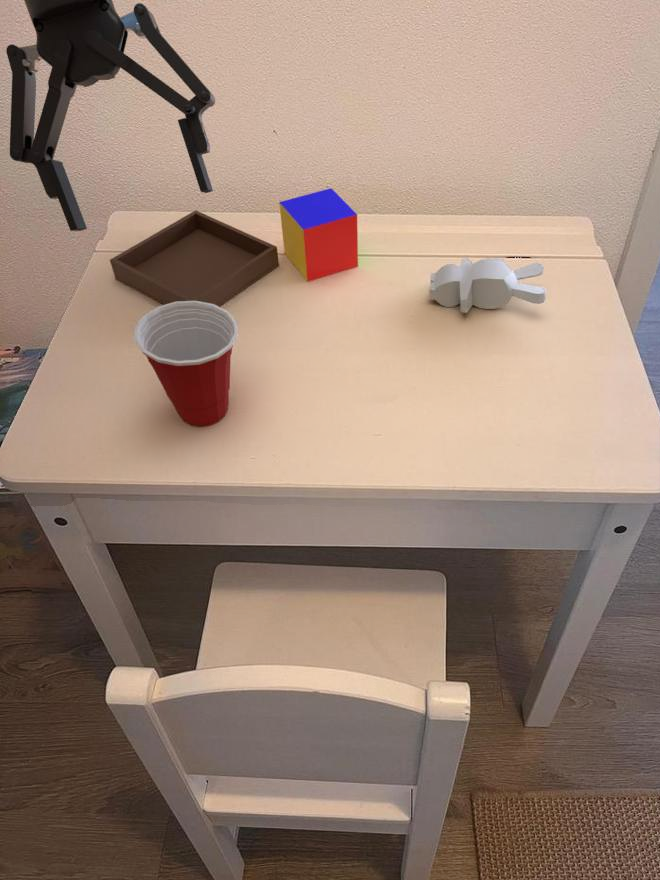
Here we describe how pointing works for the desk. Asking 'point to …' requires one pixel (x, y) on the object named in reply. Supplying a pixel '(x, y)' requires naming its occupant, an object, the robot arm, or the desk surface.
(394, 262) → the desk surface
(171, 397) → the plastic cup
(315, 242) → the cube
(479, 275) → the bunny figurine
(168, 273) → the tray
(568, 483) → the desk surface
